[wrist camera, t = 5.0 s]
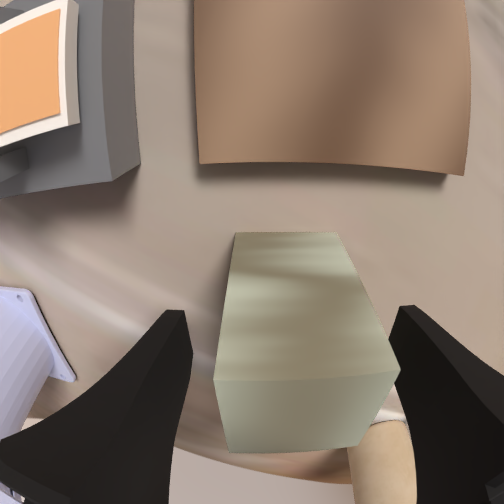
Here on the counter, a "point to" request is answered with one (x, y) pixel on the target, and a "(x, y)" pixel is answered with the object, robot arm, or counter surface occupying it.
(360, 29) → the walnut board
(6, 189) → the switch base
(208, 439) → the counter surface
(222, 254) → the counter surface
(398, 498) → the candle
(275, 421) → the block
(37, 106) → the rocker
